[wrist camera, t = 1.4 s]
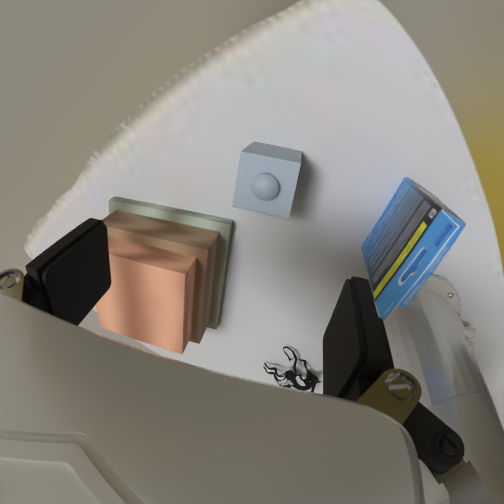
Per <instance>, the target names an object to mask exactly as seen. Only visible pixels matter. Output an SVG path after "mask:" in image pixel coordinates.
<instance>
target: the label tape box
mask: <svg viewBox="0 0 504 504" xmlns="http://www.w3.org/2000/svg"><path fill="white" fill-rule="evenodd" d="M465 225H466V224H465V222H464V221H463V220H461V219H460V218H459V217H458V216H457V215H456V214H455V213H454V212H453V211H451V210H450V209H449V208H448V207H447V206H446V205H445V204H444V203H443V202H441V201H440V200H439V199H438V198H437V197H435V196H434V195H433V194H431V193H430V192H429V191H427V190H426V189H424V188H423V187H421V186H420V185H418V184H417V183H416V182H414V181H413V180H411V179H410V178H408V177H405V178H404V180H403V182H402V183H401V185H400V187H399V188H398V190H397V192H396V193H395V195H394V196H393V198H392V200H391V201H390V203H389V205H388V206H387V208H386V210H385V211H384V213H383V214H382V216H381V218H380V219H379V221H378V223H377V224H376V226H375V227H374V229H373V230H372V232H371V234H370V235H369V237H368V238H367V240H366V241H365V243H364V244H363V246H362V251H363V255H364V259H365V263H366V267H367V272H368V276H369V279H370V284H371V288H372V292H373V296H374V301H375V303H376V306H377V309H378V312H379V316H380V318H382V320H383V322H385V321H386V319H387V318H388V317H389V316H390V314H391V313H392V312H393V311H394V309H395V308H396V307H397V306H399V307H406V306H407V305H408V304H409V302H410V301H411V300H412V299H413V297H414V296H415V295H416V294H417V292H418V291H419V290H420V288H421V287H422V286H423V285H424V283H425V282H426V281H427V279H428V278H429V277H430V275H431V274H432V273H433V271H434V270H435V269H436V267H437V266H438V264H439V263H440V262H441V260H442V259H443V257H444V256H445V255H446V253H447V252H448V250H449V249H450V248H451V246H452V245H453V243H454V242H455V240H456V239H457V237H458V236H459V234H460V233H461V231H462V230H463V228H464V227H465Z"/></svg>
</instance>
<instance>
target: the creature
mask: <svg viewBox="0 0 504 504" xmlns="http://www.w3.org/2000/svg"><path fill="white" fill-rule="evenodd" d="M284 348H288V347H283V351H284ZM288 349H290V348H288ZM290 350H291V351H292V353H293V356H294V358H295V362H294V366H293V368H294V372H295V374H294V372H293V371H291V370H289V371H286V372H285V373H286V374H285V373H284V374H285V375H286V376H285V375H284V374H283V375H284V376H285V377H284V376H282V375H278V373H277V369H276V368H275V367H274V368H268V367H267V365H266V363H264V364H265V365H266V367H267V368H268V369H270V370H275V373H276V374H275V373H274V372H267V370H266V368H265V367H264V369H265V370H266V372H267V373H268V374H274V378H275V380H277V381H282V380H278V378H277V377H284V379H285V378H287V380H290V381H291V382H292V383H293V385H290V384H288V385H285V386H283V387H288V388H291V387H290V386H293V387H294V388H296V389H298V390H303V391H305V390H309V389H310V388H311V387H312V389H311V392H314V389H315V386H316V383H320V382H322V381H319V380H318V377H316V376H315V375H314V374H312V373H311V372H309V371H308V369H307V366H306V360H300V359H299V360H300V361H303V362H304V366H305V368H306V370H307V374H306V379H302V376H301V375H300V374H299V375H297V372H296V363H297V357H296V355H295V353H294V351H293V350H292V349H290ZM284 352H285V351H284ZM285 354H286V352H285ZM286 355H287V354H286ZM287 356H288V355H287ZM288 358H289V357H288ZM290 360H291V359H290V358H289V361H290ZM276 375H277V377H276ZM296 376H299V377H300V379H301V380H302V381H303V382H304V383H305V384H306V386H300V385H299V384H298V383H297V382H296V379H295V378H296ZM284 379H283V380H284ZM310 380H311V381H310ZM286 382H287V381H286ZM277 383H278V382H277ZM278 384H279V383H278ZM285 384H286V383H285ZM279 385H280V384H279ZM280 386H282V385H280Z"/></svg>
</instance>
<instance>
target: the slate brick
mask: <svg viewBox="0 0 504 504" xmlns="http://www.w3.org/2000/svg"><path fill="white" fill-rule="evenodd" d="M301 156H302V151H298V150H293V149H289V148H284V147H279V146H274V145H269V144H264V143H259V142H253V143H251V144H250V145H249V146H247V147H246V148H245V149H244V150H242V151H241V156H240V162H239V168H238V175H237V181H236V188H235V194H234V201H233V207H236V208H241V209H246V210H250V211H255V212H260V213H264V214H269V215H274V216H278V217H283V218H287V219H289V215H290V211H291V207H292V202H293V198H294V193H295V189H296V184H297V180H298V175H299V171H300V166H301Z"/></svg>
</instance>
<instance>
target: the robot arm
mask: <svg viewBox="0 0 504 504" xmlns="http://www.w3.org/2000/svg"><path fill="white" fill-rule="evenodd" d="M26 270H27V274H26V275H25V276H24V274H23V272H22V271H21V270H19V269H7V270H4V271H2V272H0V504H504V430H503V427H502V425H501V422H500V419H499V417H498V414H497V411H496V408H495V405H494V403H493V400H492V397H491V395H490V392H489V390H488V387H487V385H486V382H485V380H484V377H483V375H482V372H481V370H480V368H479V365H478V363H477V361H476V359H475V356H474V354H473V352H472V351H473V343H472V342H471V341H467V339H466V338H474V336H475V334H476V330H475V328H473V327H464V325H463V323H462V322H461V320H460V318H459V316H460V307H461V305H460V299H459V297H458V294H457V292H456V291H455V289H454V288H453V286H452V285H451V284H450V283H449V282H448V281H447V280H445V279H443V278H441V277H439V276H435V275H430V277H429V278H428V279H427V281H426V282H425V283H424V285H423V286H422V287H421V288H420V290H419V291H418V292H417V294H416V295H415V296H414V297H413V299H412V300H411V301H410V302H409V304H408V305H407V306H406V307H399V306H397V307H396V308H395V309H394V311H393V312H392V313H391V314H390V316H389V317H388V318H387V319H386V321H385V322H383V320H382V318H380V316H379V312H378V309H377V306H376V303H375V301H374V299H373V295H372V291H371V288H370V284H369V281H368V280H367V279H363V278H359V277H354V276H353V277H352V278H351V280H349V279H347V280H346V281H345V284H344V286H343V289H342V291H341V294H340V297H339V299H338V302H337V304H336V307H335V309H334V312H333V314H332V317H331V319H330V322H329V324H328V326H327V329H326V331H325V334H324V337H323V394H318V393H313V392H308V391H303V390H298V389H293V388H287V387H282V386H277V385H273V384H268V383H264V382H259V381H254V380H250V379H245V378H241V377H237V376H233V375H229V374H225V373H221V372H217V371H213V370H209V369H205V368H202V367H198V366H195V365H191V364H188V363H184V362H181V361H177V360H174V359H171V358H167V357H164V356H161V355H158V354H155V353H151V352H148V351H145V350H142V349H139V348H136V347H133V346H130V345H127V344H125V343H122V342H119V341H116V340H114V339H111V338H108V337H106V336H103V335H100V334H98V333H95V332H92V331H90V330H87V329H85V328H82V327H79V326H78V325H79V324H80V322H81V321H82V320H83V319H84V318H85V316H86V315H87V314H88V313H89V312H90V311H91V309H92V308H93V307H94V306H95V305H96V304H97V302H98V301H99V300H100V299H101V298H102V297H103V295H104V294H105V293H106V292H107V291H108V290H109V288H110V286H111V282H112V280H111V270H110V260H109V247H108V232H107V226H106V225H105V224H104V222H103V221H102V220H98V219H93V218H89V219H88V220H86V221H85V222H83V223H82V224H80V225H79V226H78V227H76V228H75V229H73V230H72V231H71V232H69V233H68V234H66V235H65V236H64V237H62V238H61V239H60V240H58V241H57V242H56V243H54V244H53V245H52V246H50V247H49V248H48V249H46V250H45V251H44V252H42V253H41V254H40V255H39V256H37V257H36V258H35V259H33V260H32V261H31V262H30V263H29V264H27V265H26Z"/></svg>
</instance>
